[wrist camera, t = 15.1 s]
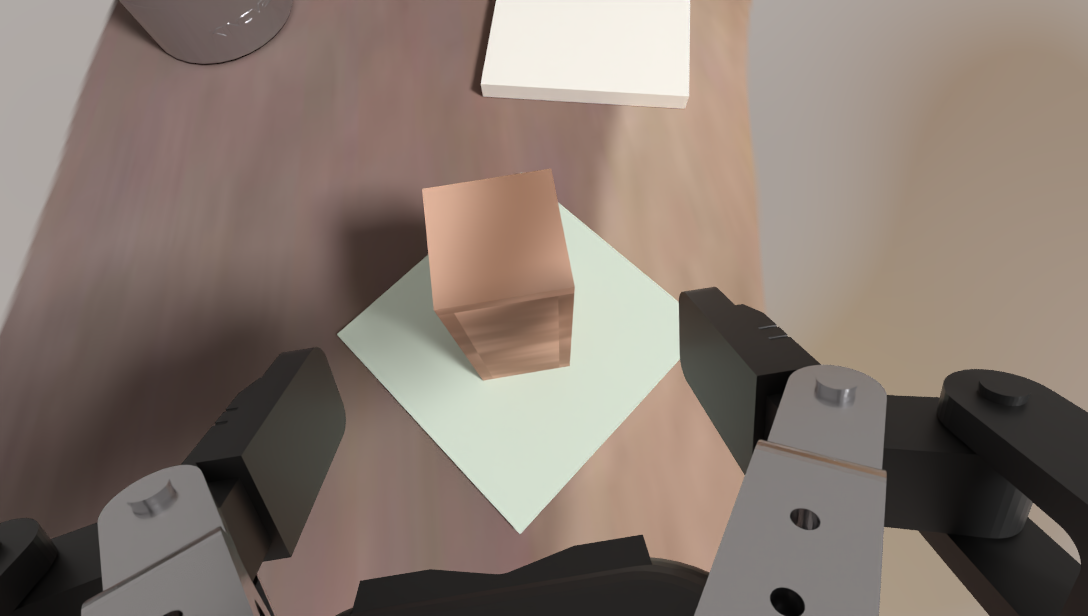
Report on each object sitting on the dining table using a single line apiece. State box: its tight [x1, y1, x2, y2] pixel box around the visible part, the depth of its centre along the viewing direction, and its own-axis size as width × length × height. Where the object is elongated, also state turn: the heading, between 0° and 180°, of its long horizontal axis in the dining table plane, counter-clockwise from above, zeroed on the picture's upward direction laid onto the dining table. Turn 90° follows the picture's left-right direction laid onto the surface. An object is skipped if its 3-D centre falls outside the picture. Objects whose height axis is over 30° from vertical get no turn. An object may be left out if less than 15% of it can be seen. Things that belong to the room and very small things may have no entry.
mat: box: [337, 203, 680, 534], centre depth 25 cm, size 13×13×1 cm
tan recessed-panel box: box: [422, 169, 575, 381], centre depth 20 cm, size 4×4×10 cm
